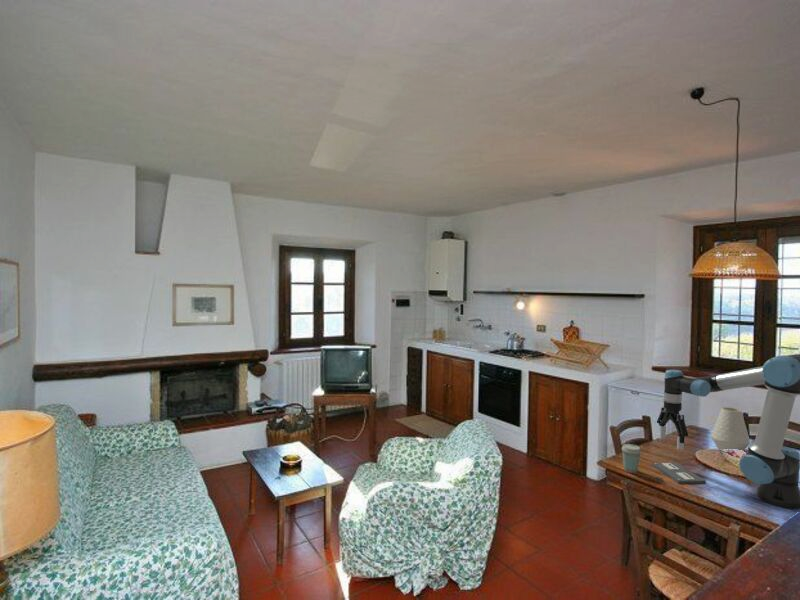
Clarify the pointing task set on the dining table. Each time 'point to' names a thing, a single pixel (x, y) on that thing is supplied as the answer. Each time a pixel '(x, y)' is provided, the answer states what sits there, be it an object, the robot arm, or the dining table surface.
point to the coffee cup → (631, 457)
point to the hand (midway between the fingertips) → (671, 443)
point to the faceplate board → (678, 473)
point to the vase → (730, 430)
